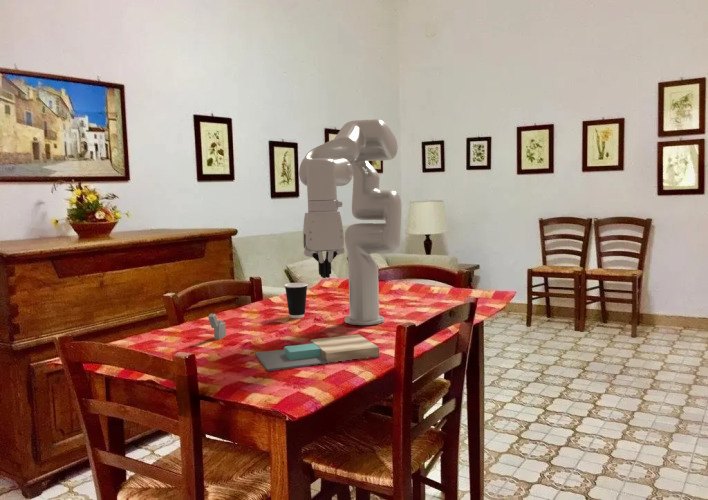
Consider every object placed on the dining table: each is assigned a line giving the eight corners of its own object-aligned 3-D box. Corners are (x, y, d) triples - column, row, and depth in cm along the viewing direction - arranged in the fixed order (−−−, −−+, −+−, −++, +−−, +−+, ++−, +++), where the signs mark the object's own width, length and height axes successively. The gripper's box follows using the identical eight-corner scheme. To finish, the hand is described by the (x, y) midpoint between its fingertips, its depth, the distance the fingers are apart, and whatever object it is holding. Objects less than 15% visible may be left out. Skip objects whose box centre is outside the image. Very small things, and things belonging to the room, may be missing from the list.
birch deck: (310, 348, 166) (310, 339, 166) (359, 343, 171) (359, 334, 170) (327, 363, 152) (326, 353, 152) (379, 356, 157) (379, 347, 156)
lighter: (220, 335, 183) (219, 309, 182) (226, 336, 183) (225, 309, 182) (209, 341, 176) (207, 314, 175) (214, 342, 176) (213, 314, 175)
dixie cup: (313, 315, 209) (312, 283, 208) (300, 320, 202) (299, 287, 201) (294, 313, 213) (292, 282, 212) (280, 318, 206) (279, 285, 205)
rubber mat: (255, 354, 162) (255, 352, 161) (310, 348, 167) (310, 346, 166) (267, 371, 147) (267, 369, 146) (327, 363, 152) (327, 361, 151)
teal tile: (284, 354, 159) (284, 346, 159) (314, 350, 162) (314, 343, 162) (290, 360, 154) (289, 352, 154) (320, 356, 156) (320, 348, 156)
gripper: (345, 205, 164) (347, 272, 166) (290, 207, 159) (293, 277, 161) (354, 206, 157) (356, 277, 159) (297, 209, 152) (300, 282, 154)
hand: (325, 277), depth 160 cm, fingers closed
